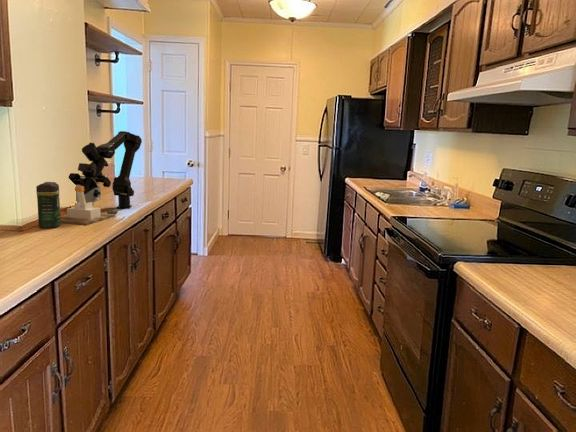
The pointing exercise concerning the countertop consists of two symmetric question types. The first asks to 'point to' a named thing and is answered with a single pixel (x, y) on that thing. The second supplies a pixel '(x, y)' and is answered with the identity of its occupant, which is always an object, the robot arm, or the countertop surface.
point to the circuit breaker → (91, 195)
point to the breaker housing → (83, 211)
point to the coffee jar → (48, 205)
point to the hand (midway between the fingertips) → (82, 194)
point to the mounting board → (85, 221)
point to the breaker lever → (80, 195)
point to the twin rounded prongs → (112, 211)
